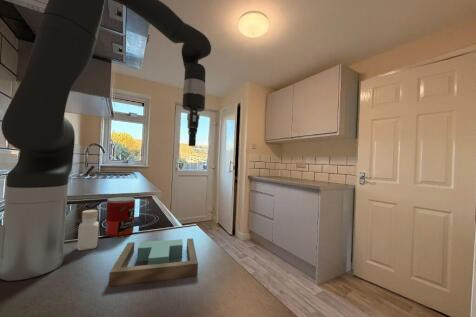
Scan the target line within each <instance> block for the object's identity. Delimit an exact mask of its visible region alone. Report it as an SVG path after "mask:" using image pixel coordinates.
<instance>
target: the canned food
mask: <svg viewBox="0 0 476 317" xmlns="http://www.w3.org/2000/svg"><path fill="white" fill-rule="evenodd" d="M135 209H136V198H135V197H133V196H132V197H131V196H130V197H129V196H117V197H116V196H114V197H110V198H107V201H106V214H105V216H106V217H105V236H106V237H108V236H112V237H117V238H122V237H121V236H124V237H127V236H126V235H128V236H130V235H131V233H132V234H133V232H134V228H135V212H136V211H135ZM129 234H130V235H129ZM112 237H111V238H112Z"/></svg>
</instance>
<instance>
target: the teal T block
mask: <svg viewBox="0 0 476 317" xmlns="http://www.w3.org/2000/svg"><path fill="white" fill-rule="evenodd" d="M183 244H184V243H183V238H182V239H167V240H154V241H153V240H151V241H150V240H149V241H140V243H139V245H138V248H137V259H136V261H137V262H145V261H146V262H147V265H153V264H163V263H170V259H180V258H183Z"/></svg>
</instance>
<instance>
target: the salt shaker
mask: <svg viewBox="0 0 476 317" xmlns="http://www.w3.org/2000/svg"><path fill="white" fill-rule="evenodd" d="M97 218H98V210H97V209H87V210H83V211H82V212H81V219H82V221H81V223H80V224H79V225H78V232H77V247H76V249H77V250H78V251H87V250H92V249H93V250H94V249H95V248H97V245H98V243H99V242H98V241H99V226H100V222H99V221H97Z"/></svg>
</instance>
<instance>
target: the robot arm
mask: <svg viewBox="0 0 476 317" xmlns="http://www.w3.org/2000/svg"><path fill="white" fill-rule="evenodd" d="M116 1H117V2H118V3H120V4H121V5H122V6H124V7H126V8H127V9H129V10H131V11H132V12H133V13H135V14H137V15H138V16H139V17H141V18H142V19H143V20H145V21H146V22H147V23H149V24H150V25H151V26H152V27H154V28H155V30H157V31H159V32H160V33H161V34H162V35H163V36H164V37H165V38H167V39H168V40H169V41H170V42H172V43H173V44H182V46H181V57H182V58H181V59H182V64H183V68H184V81H183V88H182V109H183V110H184V111H185V110H186V111H189V112H188V113H187V115H186V120H187V129H188V131H187V134H188V146H189V147H195V146H196V143H197V134H198V128H199V120H200V114H198V113H200V112H201V113H202V112H204V111H205V108H206V68H205V66H204V65H203V64H201V63H199V61H200V60H203V59H204V58H207V57H208V56H209V55H210V54H211V52H212V44H211V42H210V40H209V39H208V37H207V36H206V35H205V34H204V33H202V31H200V30H198V29H196V28H195V27H194V26H192V25H190V24H188V23H186V21H185V22H184V20H182V18H181V17H179V16H178V15H177V13H175V12H174V10H172V8H170V7H169V6H168V5H167V4H165V3H164V2H163V1H161V0H116ZM105 2H106V0H48V2H47V3H46V6H45V7H44V11H43V13H42V16H41V19H40V21H39V25H38V28H37V31H36V35H35V40H34V43H33V45H32V48H31V51H30V55H29V58H28V61H27V64H26V68H25V70H24V73H23V76H22V78H21V80H20V83H19V85H18V87H17V89H16V90H15V93H14V95H13V97H12V99H11V101H10V103H9V104H8V107H7V109H6V111H5V112H4V115H3V117H2V121H1V127H0V128H1V132H2V135H3V137H4V140H5V141H6V142H7V143H8V144H9V145H11V146H12V147H14V148H15V149H17V150H19V155H18V159H17V160H18V161H17V162H16V165H14V167H13V168H12V169H10V170H9V171H8V173H7V174H6V180H5V181H6V182H5V197H4V212H3V224H1V225H0V280H3V281H11V282H12V281H22V280H26V279H32V278H35V277H39V276H42V275H45V274H47V273H50V272H52V271H54V270H56V269H58V268H59V267H61V265H62V264H63V263H64V254H65V252H64V249H65V236H66V221H67V220H66V219H67V217H66V216H67V203H68V189H69V188H68V187H69V176H70V174H71V172H72V168H73V163H74V162H73V160H74V152H75V142H76V135H75V134H76V133H75V129H74V127H73V125H72V123H71V122H70V121H69V119H67V118H66V117H65V114H66V108H67V107H66V106H67V104H68V103H67V102H68V100H69V95H70V92H71V91H72V88H73V87H74V84H75V83H76V82H77V81H78V80H79V78H80V77H81V76H82V74H83V73H84V72H85V70H87V68H88V66H89V65H90V62H91V60H92V58H93V56H94V52H95V47H96V45H97V41H98V37H99V32H100V27H101V23H102V20H103V13H104V9H105V8H104V7H105Z"/></svg>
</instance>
